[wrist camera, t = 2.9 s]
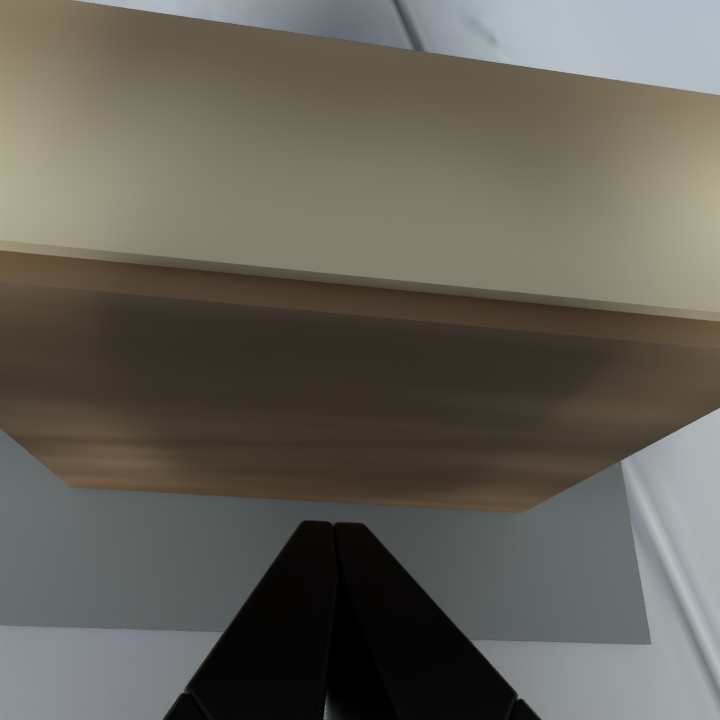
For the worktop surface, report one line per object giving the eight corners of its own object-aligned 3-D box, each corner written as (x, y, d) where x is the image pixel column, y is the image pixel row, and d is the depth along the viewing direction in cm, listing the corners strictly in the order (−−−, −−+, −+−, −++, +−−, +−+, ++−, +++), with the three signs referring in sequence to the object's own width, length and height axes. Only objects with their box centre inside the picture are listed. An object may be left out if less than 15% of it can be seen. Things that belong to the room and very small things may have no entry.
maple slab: (527, 514, 16) (840, 351, 7) (64, 489, 15) (-232, 250, 6) (512, 368, 18) (749, 99, 9) (101, 333, 17) (-80, -22, 8)
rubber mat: (642, 644, 16) (651, 644, 15) (-103, 622, 14) (-113, 621, 13) (550, 83, 25) (554, 74, 25) (97, 17, 23) (94, 7, 22)
